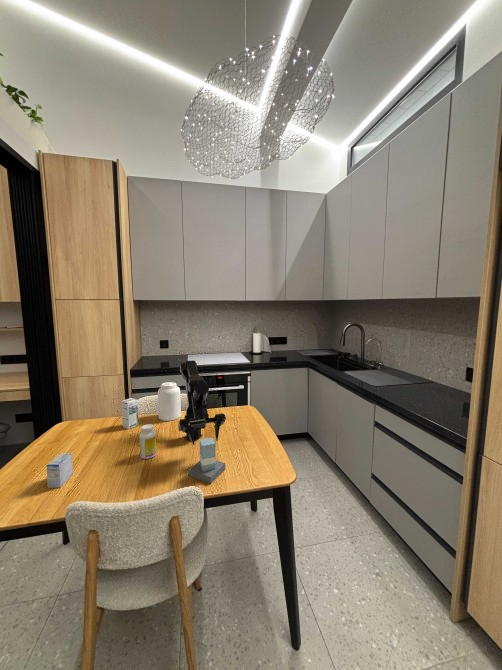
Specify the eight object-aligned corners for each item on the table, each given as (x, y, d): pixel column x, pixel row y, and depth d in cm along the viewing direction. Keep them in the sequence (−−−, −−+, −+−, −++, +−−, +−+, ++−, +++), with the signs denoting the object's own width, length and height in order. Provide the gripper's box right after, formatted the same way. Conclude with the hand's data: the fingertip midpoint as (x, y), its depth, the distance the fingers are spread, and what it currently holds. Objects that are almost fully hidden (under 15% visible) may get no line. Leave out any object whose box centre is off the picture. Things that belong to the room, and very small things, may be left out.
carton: (199, 464, 106) (199, 439, 105) (212, 461, 108) (212, 437, 107) (202, 471, 101) (202, 445, 100) (215, 468, 103) (215, 443, 102)
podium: (188, 476, 103) (188, 469, 102) (204, 462, 112) (204, 457, 111) (211, 483, 98) (211, 477, 98) (225, 469, 107) (225, 463, 107)
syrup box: (128, 429, 142) (127, 402, 140) (122, 426, 145) (121, 400, 143) (138, 425, 147) (137, 399, 145) (131, 423, 150) (130, 397, 148)
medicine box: (61, 474, 103) (59, 452, 102) (73, 474, 103) (72, 452, 103) (47, 488, 95) (45, 464, 94) (60, 487, 96) (59, 464, 95)
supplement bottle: (159, 452, 119) (159, 424, 118) (149, 460, 113) (148, 430, 112) (147, 450, 121) (146, 422, 120) (136, 457, 115) (135, 428, 114)
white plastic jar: (154, 420, 153) (153, 385, 151) (164, 412, 166) (163, 380, 164) (175, 422, 151) (174, 387, 149) (184, 413, 164) (183, 381, 162)
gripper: (217, 410, 125) (224, 445, 116) (175, 416, 118) (179, 453, 109) (222, 400, 117) (230, 436, 108) (177, 405, 110) (182, 444, 101)
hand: (205, 442), depth 107 cm, fingers open, 9 cm apart
